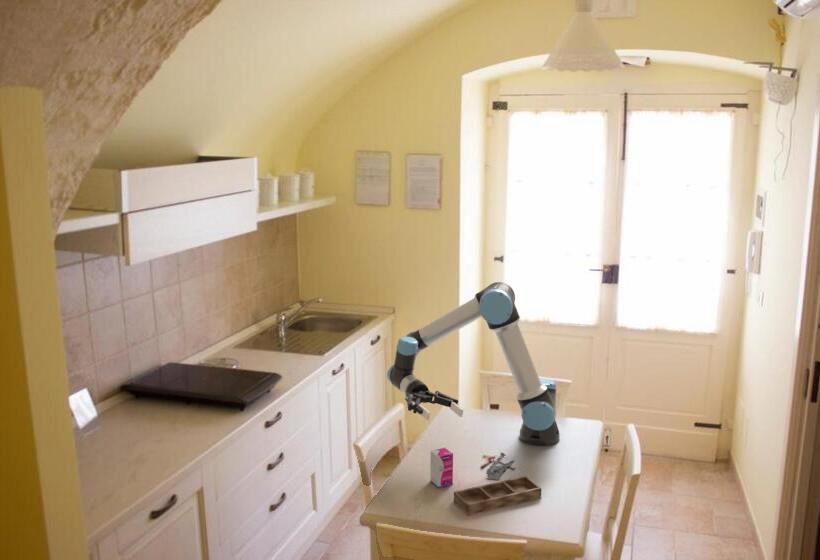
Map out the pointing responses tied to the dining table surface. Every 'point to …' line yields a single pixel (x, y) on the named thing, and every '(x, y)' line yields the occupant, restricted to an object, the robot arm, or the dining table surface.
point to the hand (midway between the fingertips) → (445, 414)
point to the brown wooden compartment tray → (497, 495)
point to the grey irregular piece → (497, 468)
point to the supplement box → (441, 467)
